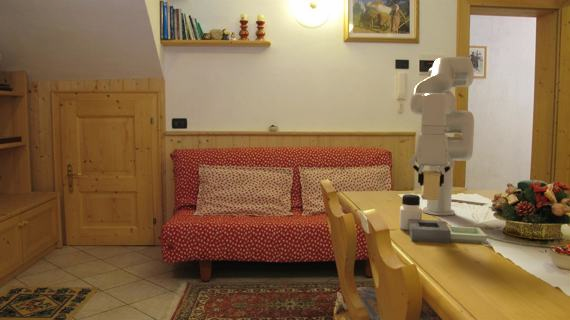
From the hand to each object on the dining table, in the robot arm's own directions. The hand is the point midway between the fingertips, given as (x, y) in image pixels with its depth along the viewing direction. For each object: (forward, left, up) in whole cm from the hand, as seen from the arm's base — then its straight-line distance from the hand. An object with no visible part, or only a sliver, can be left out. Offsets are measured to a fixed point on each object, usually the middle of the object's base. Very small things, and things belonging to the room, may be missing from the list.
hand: (430, 184), depth 158 cm
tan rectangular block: (0, 0, -5) cm, 5 cm away
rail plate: (0, 0, -17) cm, 17 cm away
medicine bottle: (-11, -5, -18) cm, 21 cm away
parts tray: (-1, +12, -17) cm, 21 cm away
